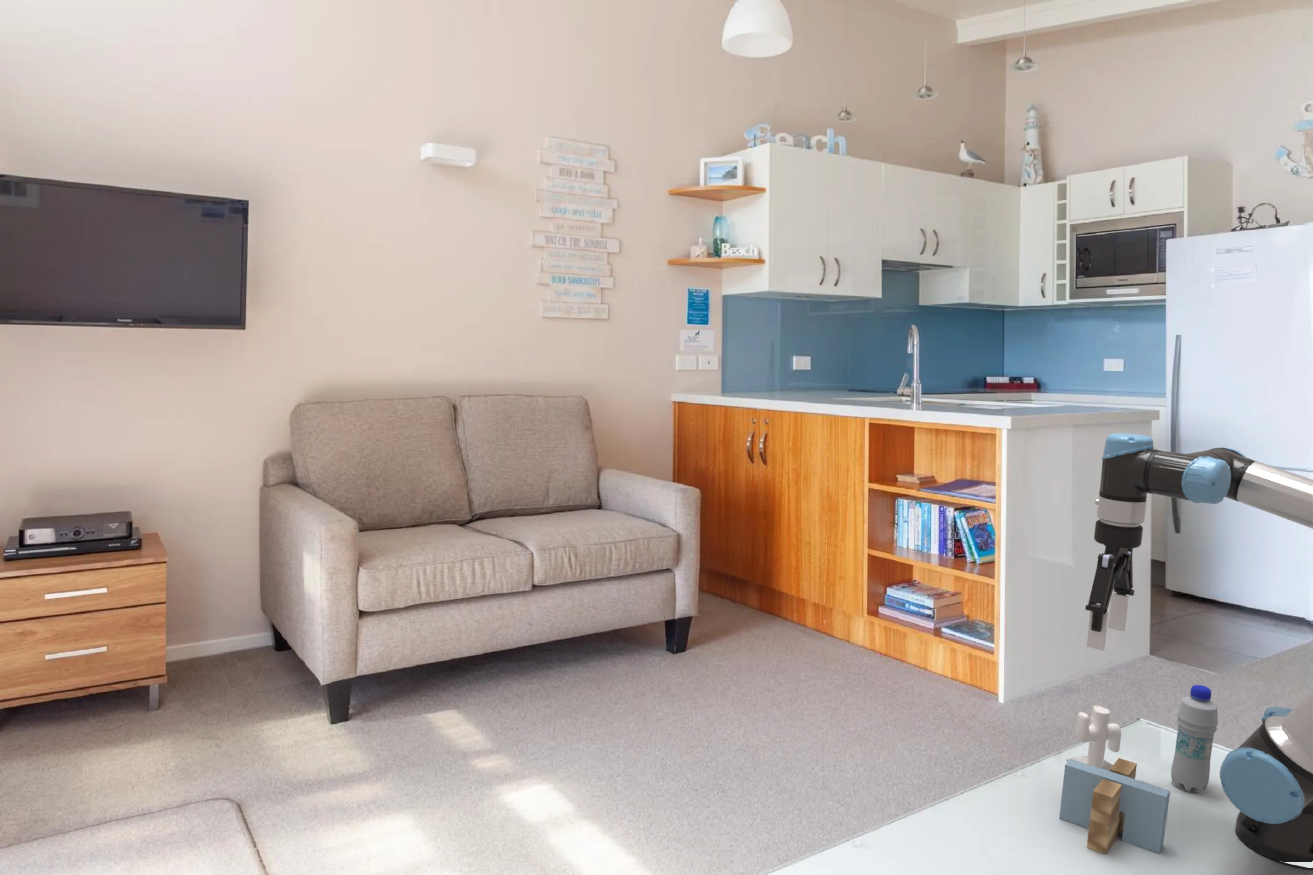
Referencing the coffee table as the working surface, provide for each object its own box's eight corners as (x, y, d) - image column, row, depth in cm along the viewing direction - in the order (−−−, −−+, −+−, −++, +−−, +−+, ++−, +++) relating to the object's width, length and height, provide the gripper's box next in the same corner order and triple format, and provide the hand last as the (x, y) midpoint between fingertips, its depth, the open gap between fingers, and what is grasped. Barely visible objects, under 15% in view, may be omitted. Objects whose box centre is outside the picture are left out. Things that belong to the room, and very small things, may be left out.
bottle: (1207, 798, 180) (1221, 696, 177) (1166, 787, 184) (1179, 686, 181) (1209, 784, 186) (1223, 684, 183) (1170, 773, 190) (1183, 675, 187)
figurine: (1127, 790, 182) (1136, 714, 180) (1085, 796, 180) (1094, 718, 177) (1099, 771, 189) (1107, 698, 187) (1058, 777, 186) (1067, 702, 184)
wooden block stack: (1130, 816, 173) (1136, 763, 171) (1105, 854, 161) (1112, 797, 159) (1112, 810, 175) (1118, 757, 173) (1086, 847, 162) (1093, 790, 161)
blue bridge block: (1163, 845, 164) (1170, 790, 162) (1159, 853, 161) (1166, 796, 160) (1064, 811, 174) (1070, 758, 172) (1059, 817, 171) (1065, 764, 170)
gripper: (1115, 507, 183) (1103, 616, 186) (1076, 529, 163) (1062, 650, 166) (1159, 514, 178) (1145, 626, 181) (1124, 537, 159) (1109, 662, 162)
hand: (1106, 638), depth 174 cm, fingers open, 13 cm apart
